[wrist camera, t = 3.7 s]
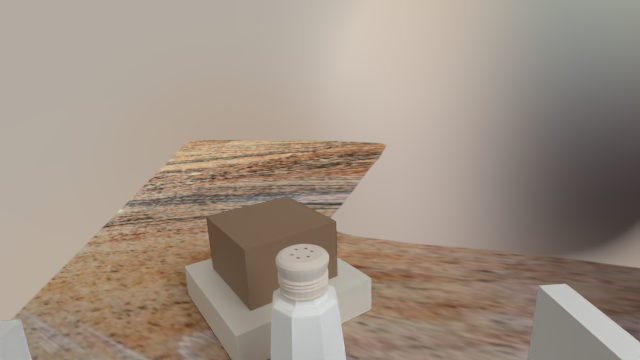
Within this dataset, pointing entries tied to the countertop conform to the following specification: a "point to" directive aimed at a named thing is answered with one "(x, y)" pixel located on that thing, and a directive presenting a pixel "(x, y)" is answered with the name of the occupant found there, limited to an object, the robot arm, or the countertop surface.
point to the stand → (263, 272)
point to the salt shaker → (305, 307)
